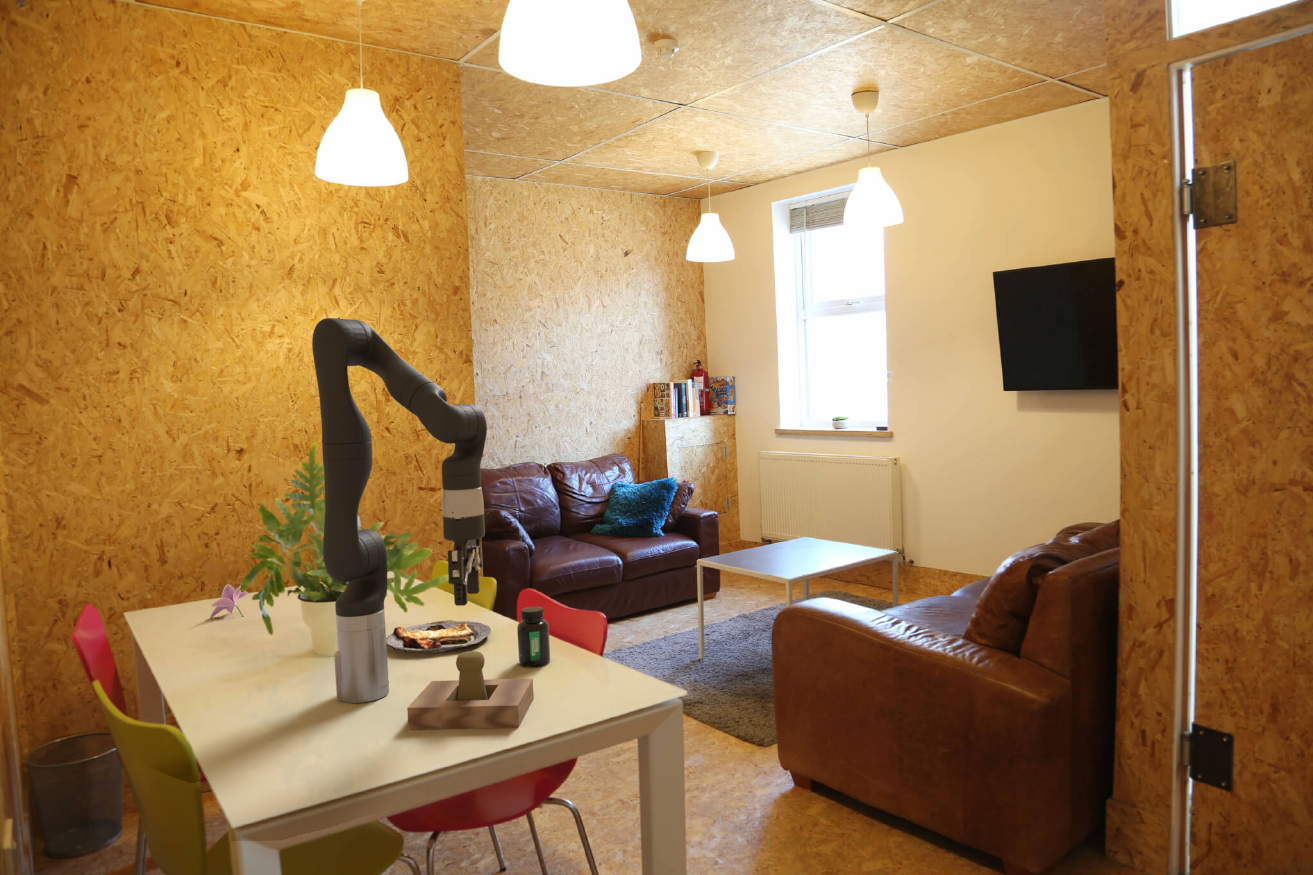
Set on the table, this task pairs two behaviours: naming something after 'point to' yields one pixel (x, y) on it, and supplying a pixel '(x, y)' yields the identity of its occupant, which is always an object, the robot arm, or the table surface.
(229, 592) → the lily
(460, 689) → the cork
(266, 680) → the table surface
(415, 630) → the food plate
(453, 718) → the holder block
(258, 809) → the table surface
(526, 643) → the supplement bottle
